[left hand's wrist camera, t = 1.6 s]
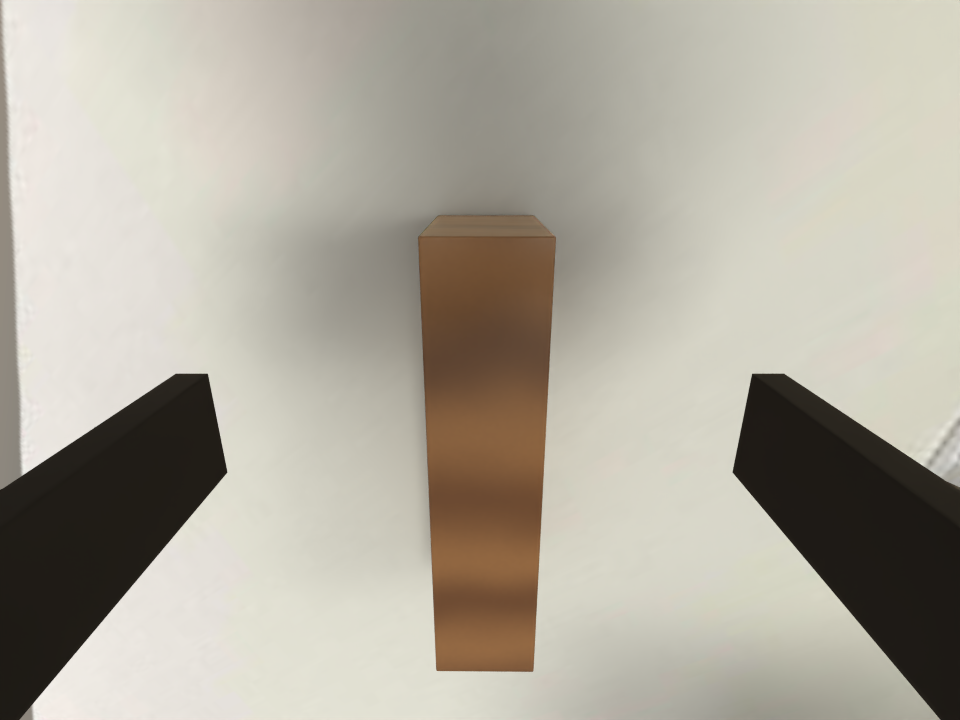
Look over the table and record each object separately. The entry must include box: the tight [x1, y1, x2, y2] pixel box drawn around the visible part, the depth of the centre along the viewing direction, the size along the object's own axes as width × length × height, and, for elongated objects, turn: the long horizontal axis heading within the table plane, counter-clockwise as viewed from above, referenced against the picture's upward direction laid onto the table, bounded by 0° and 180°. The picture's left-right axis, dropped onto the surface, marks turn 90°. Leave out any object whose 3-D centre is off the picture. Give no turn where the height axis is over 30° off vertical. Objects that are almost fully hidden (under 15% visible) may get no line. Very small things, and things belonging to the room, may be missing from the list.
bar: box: [418, 215, 556, 672], centre depth 27 cm, size 23×5×9 cm, turn 0°
